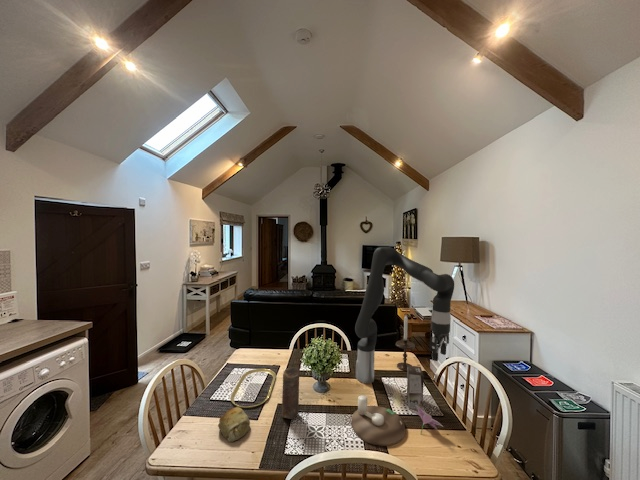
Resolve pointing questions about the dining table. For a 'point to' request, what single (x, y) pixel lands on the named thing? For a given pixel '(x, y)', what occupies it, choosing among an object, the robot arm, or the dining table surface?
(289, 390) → the candle
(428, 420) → the lily
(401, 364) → the candlestick
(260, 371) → the brass oval ring
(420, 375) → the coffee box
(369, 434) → the brown flat rounded piece
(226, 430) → the pastry
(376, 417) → the tuning crank
